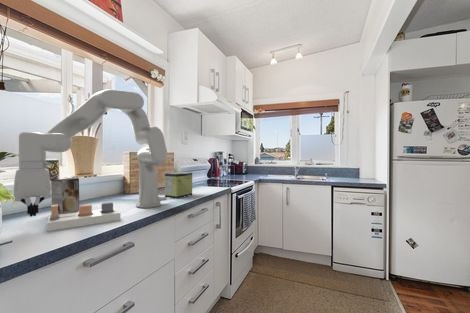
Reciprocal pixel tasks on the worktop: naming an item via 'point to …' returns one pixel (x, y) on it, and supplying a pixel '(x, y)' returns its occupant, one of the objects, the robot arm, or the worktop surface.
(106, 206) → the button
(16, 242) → the worktop surface
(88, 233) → the worktop surface
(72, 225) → the console
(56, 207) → the slider lever
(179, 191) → the protein box
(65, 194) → the coffee box
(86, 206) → the press button
